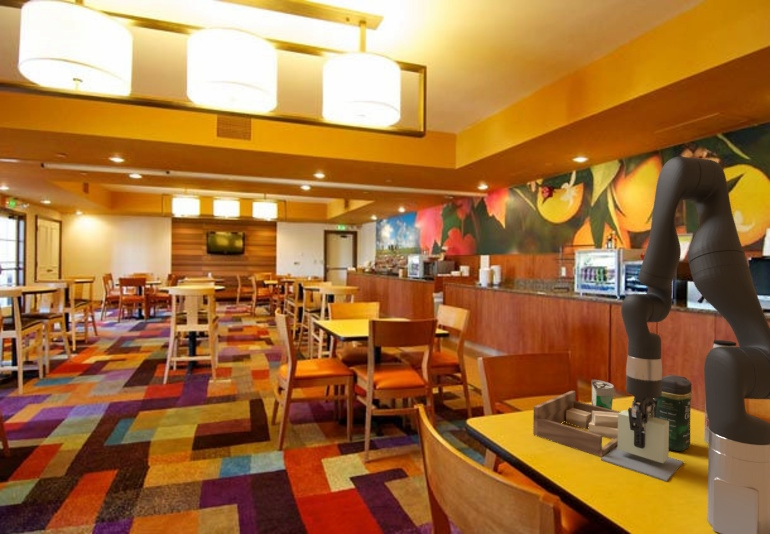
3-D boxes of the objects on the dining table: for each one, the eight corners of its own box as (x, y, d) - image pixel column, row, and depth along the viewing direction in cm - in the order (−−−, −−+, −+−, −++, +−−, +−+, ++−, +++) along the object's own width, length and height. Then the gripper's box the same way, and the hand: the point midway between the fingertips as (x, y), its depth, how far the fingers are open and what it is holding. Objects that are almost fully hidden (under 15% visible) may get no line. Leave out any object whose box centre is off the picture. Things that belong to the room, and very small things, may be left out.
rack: (602, 457, 108) (602, 425, 108) (533, 434, 122) (533, 406, 122) (635, 432, 124) (636, 405, 124) (571, 415, 138) (571, 390, 138)
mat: (666, 481, 96) (666, 479, 96) (600, 460, 106) (600, 458, 106) (683, 462, 105) (683, 461, 105) (621, 444, 116) (621, 443, 116)
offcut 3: (619, 441, 119) (619, 430, 119) (588, 434, 124) (588, 423, 124) (623, 436, 122) (623, 425, 122) (592, 429, 127) (593, 419, 127)
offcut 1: (585, 429, 126) (585, 416, 126) (566, 423, 131) (566, 410, 131) (591, 426, 129) (592, 413, 129) (572, 420, 134) (572, 407, 134)
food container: (618, 423, 131) (619, 391, 131) (596, 421, 133) (596, 388, 133) (611, 411, 143) (612, 380, 143) (591, 408, 145) (591, 379, 145)
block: (663, 463, 101) (663, 425, 101) (617, 449, 108) (618, 413, 108) (668, 458, 104) (669, 420, 103) (623, 444, 111) (623, 410, 111)
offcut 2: (622, 428, 120) (622, 417, 120) (595, 425, 122) (595, 415, 122) (618, 423, 124) (618, 412, 124) (591, 420, 126) (592, 410, 126)
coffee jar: (682, 455, 110) (683, 382, 110) (648, 444, 116) (649, 376, 116) (694, 445, 116) (696, 376, 116) (661, 436, 122) (662, 370, 122)
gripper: (651, 383, 98) (650, 458, 98) (670, 373, 108) (668, 441, 108) (616, 376, 104) (615, 447, 104) (637, 367, 113) (635, 432, 113)
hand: (642, 444), depth 106 cm, fingers closed on block, 4 cm apart
